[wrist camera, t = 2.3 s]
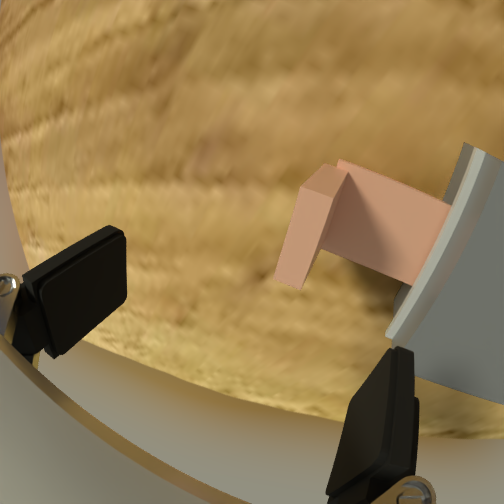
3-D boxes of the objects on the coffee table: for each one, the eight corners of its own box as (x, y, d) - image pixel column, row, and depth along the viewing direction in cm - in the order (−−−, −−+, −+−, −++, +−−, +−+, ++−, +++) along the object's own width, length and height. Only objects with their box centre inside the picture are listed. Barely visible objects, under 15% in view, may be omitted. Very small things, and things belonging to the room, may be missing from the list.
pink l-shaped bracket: (550, 260, 14) (586, 312, 9) (509, 325, 17) (528, 386, 12) (328, 154, 18) (303, 175, 13) (302, 238, 22) (270, 286, 16)
